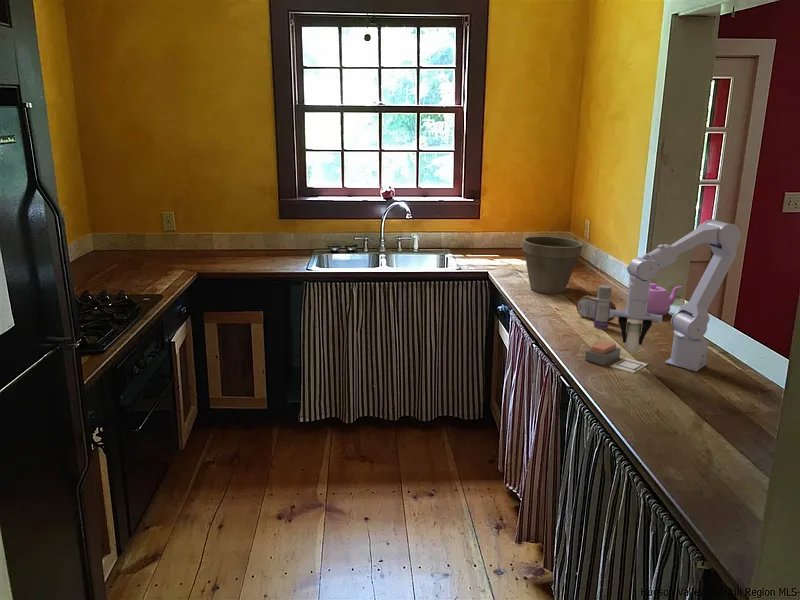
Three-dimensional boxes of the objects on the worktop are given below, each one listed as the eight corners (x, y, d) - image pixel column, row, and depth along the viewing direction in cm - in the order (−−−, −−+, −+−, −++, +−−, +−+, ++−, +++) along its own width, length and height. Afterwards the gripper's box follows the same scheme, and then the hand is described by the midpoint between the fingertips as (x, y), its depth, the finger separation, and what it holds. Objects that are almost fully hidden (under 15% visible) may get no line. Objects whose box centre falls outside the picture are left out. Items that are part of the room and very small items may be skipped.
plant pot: (589, 292, 277) (595, 243, 271) (550, 300, 264) (554, 248, 258) (546, 280, 297) (550, 234, 291) (507, 287, 283) (510, 238, 277)
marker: (638, 347, 194) (641, 322, 192) (638, 352, 190) (642, 326, 188) (624, 346, 195) (627, 320, 193) (624, 350, 191) (627, 324, 189)
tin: (615, 323, 235) (618, 301, 233) (611, 325, 233) (614, 302, 231) (578, 314, 245) (580, 293, 243) (574, 316, 243) (576, 294, 241)
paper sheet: (647, 364, 195) (647, 363, 195) (633, 373, 188) (633, 372, 188) (625, 358, 200) (626, 357, 199) (610, 366, 193) (610, 365, 193)
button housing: (619, 357, 201) (620, 348, 200) (603, 365, 193) (605, 356, 193) (601, 352, 205) (602, 343, 204) (585, 360, 198) (586, 350, 197)
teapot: (631, 317, 243) (635, 287, 240) (620, 307, 256) (624, 278, 253) (685, 319, 243) (689, 288, 239) (671, 309, 255) (675, 280, 252)
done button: (615, 349, 200) (616, 343, 199) (603, 355, 194) (603, 349, 194) (603, 346, 202) (604, 340, 202) (591, 351, 197) (591, 346, 196)
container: (596, 324, 233) (601, 284, 229) (609, 327, 231) (614, 286, 227) (591, 327, 230) (595, 286, 226) (604, 330, 227) (608, 289, 223)
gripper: (664, 298, 189) (658, 342, 193) (612, 292, 194) (607, 335, 198) (664, 304, 183) (658, 349, 187) (611, 298, 188) (606, 342, 191)
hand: (632, 342), depth 192 cm, fingers closed on marker, 4 cm apart
